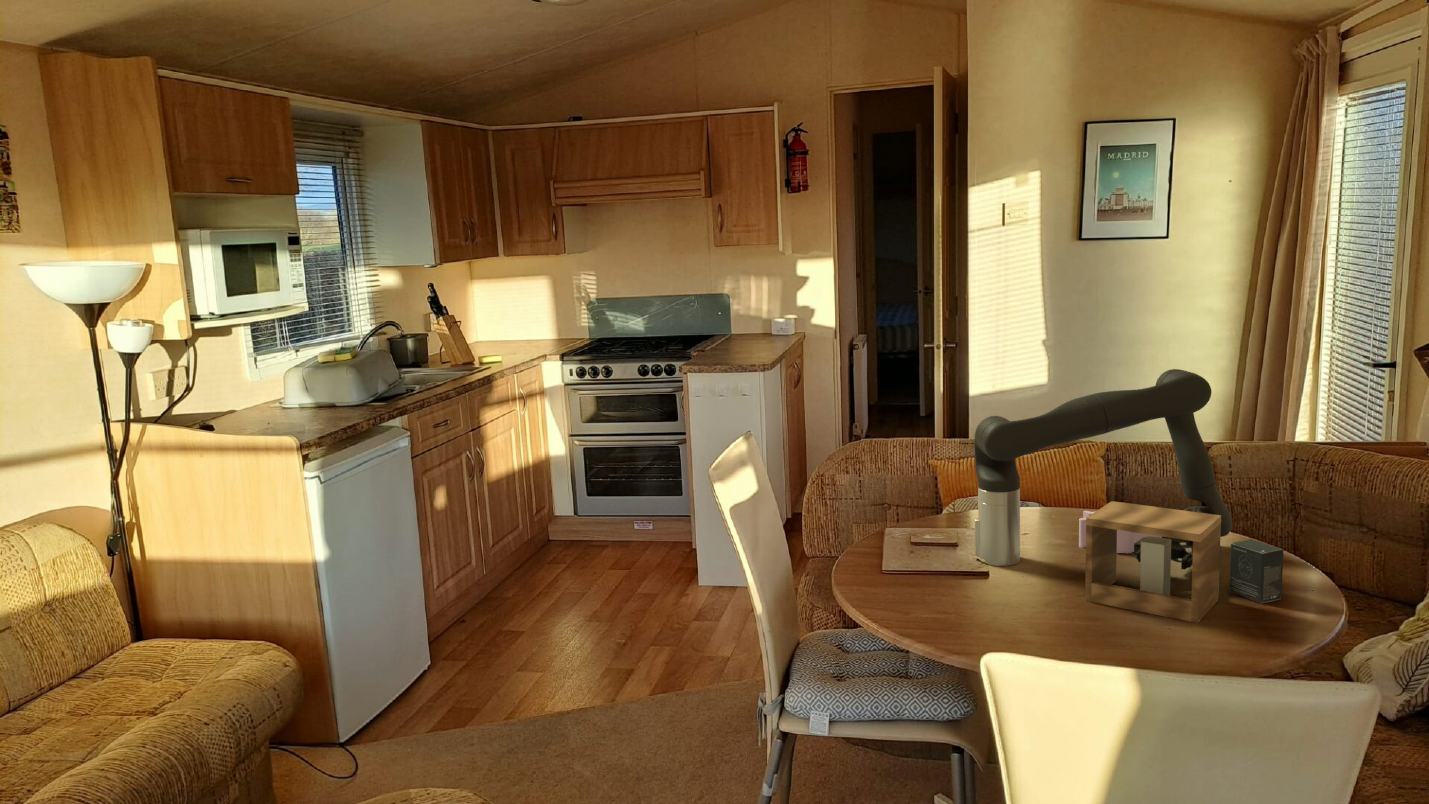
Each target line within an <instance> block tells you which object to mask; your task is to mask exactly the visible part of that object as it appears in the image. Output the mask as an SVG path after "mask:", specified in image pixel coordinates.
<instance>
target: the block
mask: <svg viewBox="0 0 1429 804" xmlns="http://www.w3.org/2000/svg"><path fill="white" fill-rule="evenodd" d="M1171 564H1172V560H1171V539H1166V538H1159V537H1153V536H1147V537H1146V538H1145V539H1144V540H1142V541H1141V562H1140V567H1139V568H1140V570H1139V571H1140V572H1139V573H1140V574H1139V575H1140V576H1139V577H1140V578H1139V581H1140V582H1139V590H1143V591H1148V592H1154V593H1159V594H1165V595H1170V596H1171V571H1172V570H1171V569H1172V567H1171V566H1172V565H1171Z"/></svg>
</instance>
